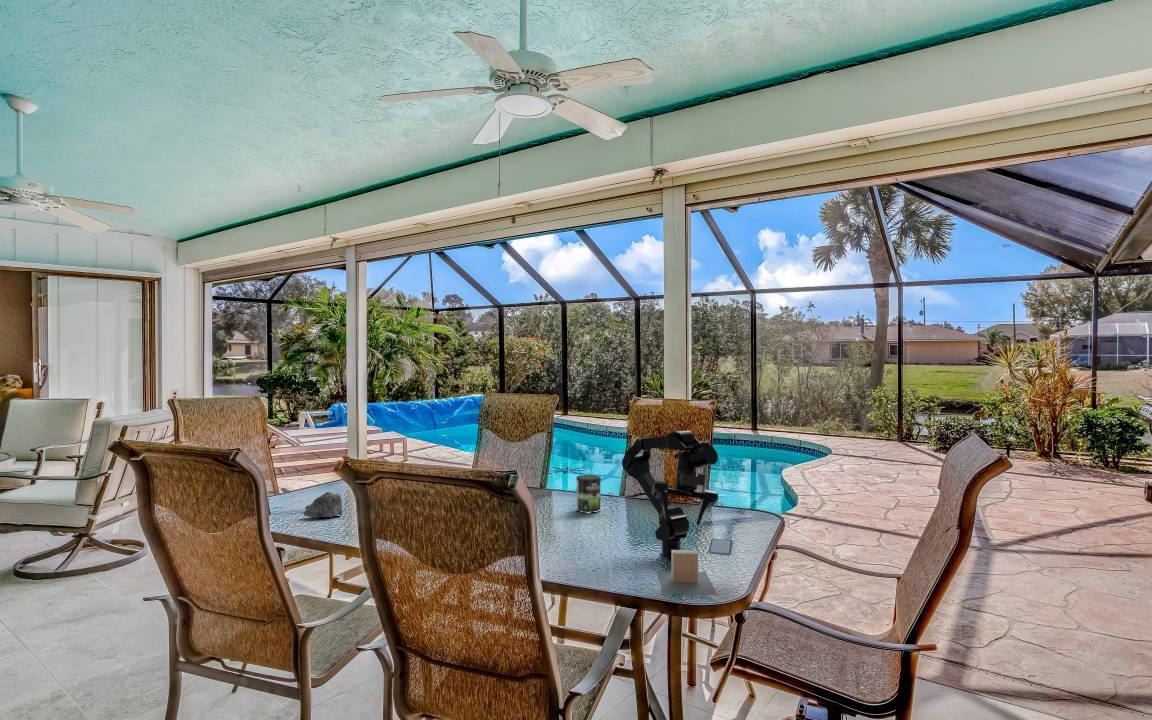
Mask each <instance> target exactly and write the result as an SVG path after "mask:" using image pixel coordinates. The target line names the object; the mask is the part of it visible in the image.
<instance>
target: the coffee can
mask: <svg viewBox="0 0 1152 720" xmlns="http://www.w3.org/2000/svg"><path fill="white" fill-rule="evenodd" d="M575 478H576V509H577V510H578V511H582V512H594V511H598V510H600V511H601V479H602V477H601V476H600V475H595V474H594V475H593V474H582V475H577V476H576V477H575Z"/></svg>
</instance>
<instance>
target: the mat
mask: <svg viewBox="0 0 1152 720" xmlns="http://www.w3.org/2000/svg"><path fill="white" fill-rule="evenodd" d="M656 573H657V577H658V581H659V584H660V588H661V590H662V594H663V595H703V596H704V595H708V596H709V595H713V596H714V595H715V596H717V595H718V593H717V591H716V589H715V587H714V586H713V584H712V582H711V580H710V578H709V576H708V574H707V572H706V571H698V583H694V582H672V579H671V571H663V570H662V571H659V570H658V571H656Z"/></svg>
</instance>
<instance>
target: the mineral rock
mask: <svg viewBox="0 0 1152 720" xmlns="http://www.w3.org/2000/svg"><path fill="white" fill-rule="evenodd" d="M304 507H305V511H303V512H302V513H303V516H304V517H308V518H314V517H315V519H316V518H317V517H325V518H333V517H332V516H337V515H341V514H342V512H343V500H342V496H341V494H340V493H333V492H331V491H328V492H325V493H323V494H322V495H320V496H319V497H317V498H315V499H314V500H313V502H311V504H308V505H306V506H304ZM342 515H343V514H342Z"/></svg>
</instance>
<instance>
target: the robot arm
mask: <svg viewBox="0 0 1152 720" xmlns="http://www.w3.org/2000/svg"><path fill="white" fill-rule="evenodd" d="M659 448H661V449H662V448H666V449H668V450H673V451H677V453H676V454H674V455H673V458H674V459H676V460H677V467H676V476H675V487H671V486H669V482H667V481H666V482H664V481H659V480H655V478H654V476H653V475H652V473H651V472H650V471H651V467H650V466H651V465H650V463H649V462H650V460H651V457H652V455H651V451H652V449H659ZM641 451H642V453H641ZM718 458H719V454H718V451H717V450H716V449H715V448H714V447H713V446H712V445H711V444H710V442H709V441H703V442H701V441H699V439H698V438H696V436H695V435H694V433H693V432H692V430H675V431H671V432H668V433H666V434H665V435H663V436H654V437H653V436H652V437H639V438H637V439H636V440H635V442H634V443H633V445H631V446H630V447H629V448H628V450H626V452H625V454H624V456H623V457H622V460H621V466H622V468H623V470H624V471H625V472H626V473H627V475H628V476H630V477H631V478H633V479H635V480H636V481H637V483H638V484H639V486H640V487H641V489H642V490H643V492H644V493H645V495H646V496H647V498H648V500H649V502H650V503H651V505H652V506H653V507H654V508H653V509H655V511H656V512H657V514H658V524H659V527H658V528H657V529H656V530H655V532H654V534H655V538H656V539H657V540H659V541H661V552H659V556H660V558H666V559H668V560H671V550H681V539H686V538H687V535H688V531H689V529H690V521H689V519H688V515H686V514H685V512H684V510H683V508H682V507H681V506H675V507H674V506H673V505H672V504H671V503H670V501H669V494H670V495H675V496H680V497H685V498H691V499H697V500H700V504H699V506H698V512H697V517H696V526H699V525H700V524H701V520H702V519H703V516H704V513H705V511H706V509H710V507H711V506H713V507H714V506H715V505H716V504H717V503H718V501H719V494H718V492H717V491H716V490H715V491H714V490H709V489H704V490H703V491H702V492H700V491H696V490H698V486H705V482H706V474H702V473H697V469H702V468H705V467H709V466H713V465H715V464H716V463H717V462H718V460H719V459H718Z"/></svg>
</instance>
